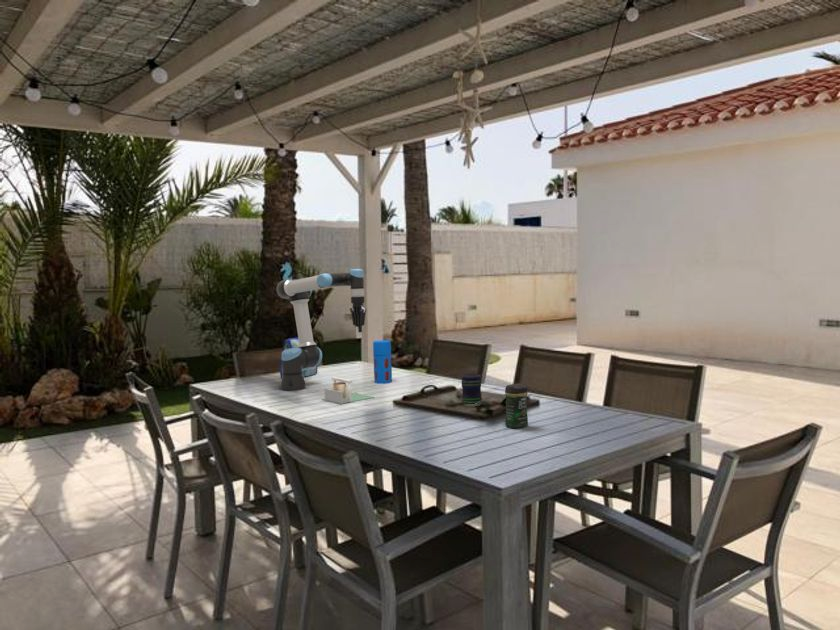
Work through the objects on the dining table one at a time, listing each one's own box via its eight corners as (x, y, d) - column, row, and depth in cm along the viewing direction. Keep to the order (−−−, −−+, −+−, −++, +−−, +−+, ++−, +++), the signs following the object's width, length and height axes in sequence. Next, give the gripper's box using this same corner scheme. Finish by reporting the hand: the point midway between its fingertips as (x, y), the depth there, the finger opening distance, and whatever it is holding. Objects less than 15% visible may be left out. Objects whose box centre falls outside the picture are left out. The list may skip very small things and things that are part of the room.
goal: (324, 399, 360) (324, 378, 359) (335, 397, 364) (334, 377, 363) (341, 403, 348) (340, 382, 347) (352, 401, 352) (351, 380, 352)
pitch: (321, 399, 362) (321, 398, 362) (355, 393, 377) (355, 392, 376) (340, 404, 349) (340, 403, 349) (374, 397, 363) (374, 397, 363)
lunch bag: (298, 380, 427) (296, 339, 425) (278, 378, 435) (276, 338, 433) (320, 374, 446) (319, 335, 444) (301, 373, 454) (300, 334, 452)
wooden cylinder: (330, 400, 356) (330, 383, 356) (340, 398, 362) (340, 381, 361) (339, 402, 352) (338, 385, 351) (349, 400, 357) (348, 383, 356)
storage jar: (471, 408, 330) (470, 377, 329) (457, 405, 337) (457, 375, 336) (485, 405, 336) (485, 375, 335) (472, 402, 344) (471, 373, 343)
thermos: (393, 380, 416) (391, 340, 414) (390, 383, 405) (389, 342, 403) (375, 380, 417) (374, 340, 415) (372, 383, 406) (371, 342, 404)
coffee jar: (515, 429, 285) (514, 386, 283) (502, 426, 291) (501, 384, 290) (531, 426, 291) (530, 383, 289) (518, 423, 297) (517, 381, 295)
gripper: (369, 296, 378) (371, 338, 379) (356, 295, 387) (357, 336, 389) (358, 296, 373) (360, 339, 374) (345, 296, 383) (347, 337, 384)
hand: (359, 337), depth 382 cm, fingers closed
